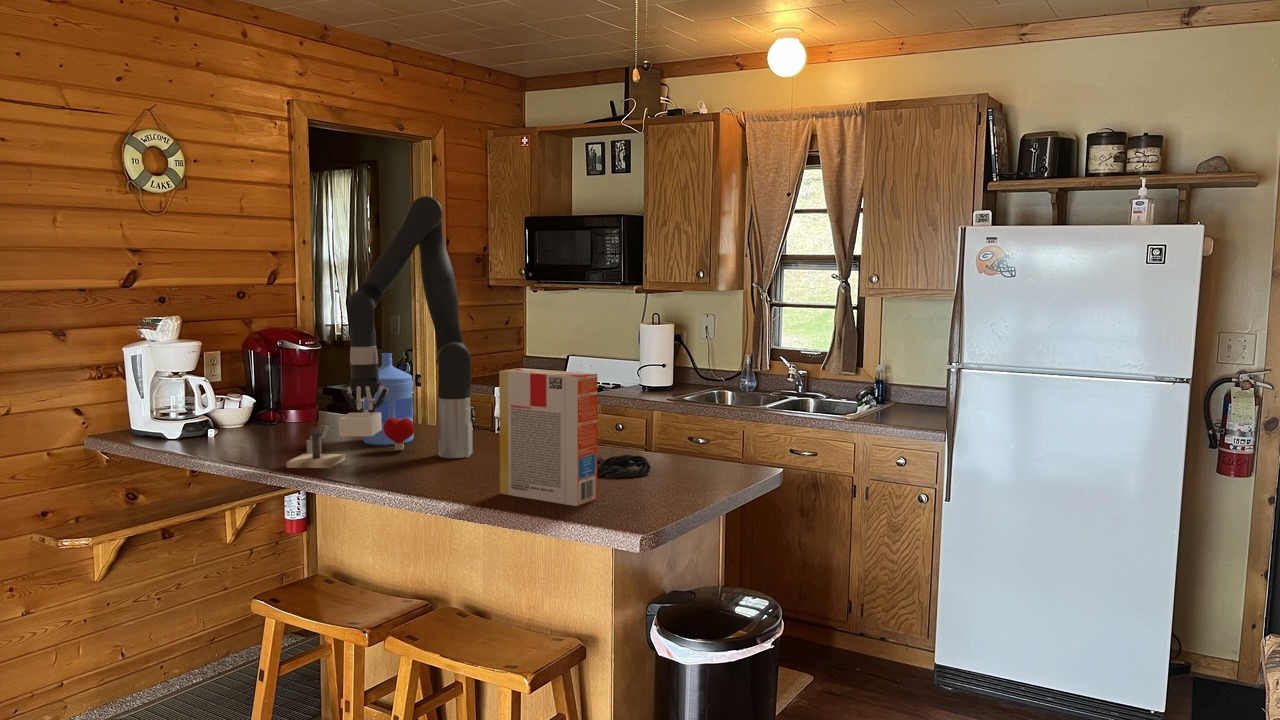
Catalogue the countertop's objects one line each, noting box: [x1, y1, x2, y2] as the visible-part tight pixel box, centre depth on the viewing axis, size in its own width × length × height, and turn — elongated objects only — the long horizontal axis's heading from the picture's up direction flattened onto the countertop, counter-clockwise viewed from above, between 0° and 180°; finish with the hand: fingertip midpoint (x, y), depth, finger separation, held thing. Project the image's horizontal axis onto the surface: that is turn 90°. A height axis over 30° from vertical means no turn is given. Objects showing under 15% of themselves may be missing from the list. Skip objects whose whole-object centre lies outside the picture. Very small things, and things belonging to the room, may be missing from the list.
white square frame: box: [338, 410, 382, 437], centre depth 260 cm, size 9×12×5 cm
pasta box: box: [498, 367, 598, 507], centre depth 221 cm, size 23×8×30 cm, turn 59°
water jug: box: [361, 352, 415, 446], centre depth 292 cm, size 16×16×28 cm
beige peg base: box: [286, 428, 346, 469], centre depth 258 cm, size 12×12×10 cm
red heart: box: [384, 418, 416, 452], centre depth 277 cm, size 9×7×10 cm
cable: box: [597, 454, 651, 479], centre depth 249 cm, size 17×14×4 cm
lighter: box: [306, 424, 330, 454], centre depth 273 cm, size 7×2×8 cm, turn 150°
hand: (366, 422), depth 264 cm, fingers closed on white square frame
